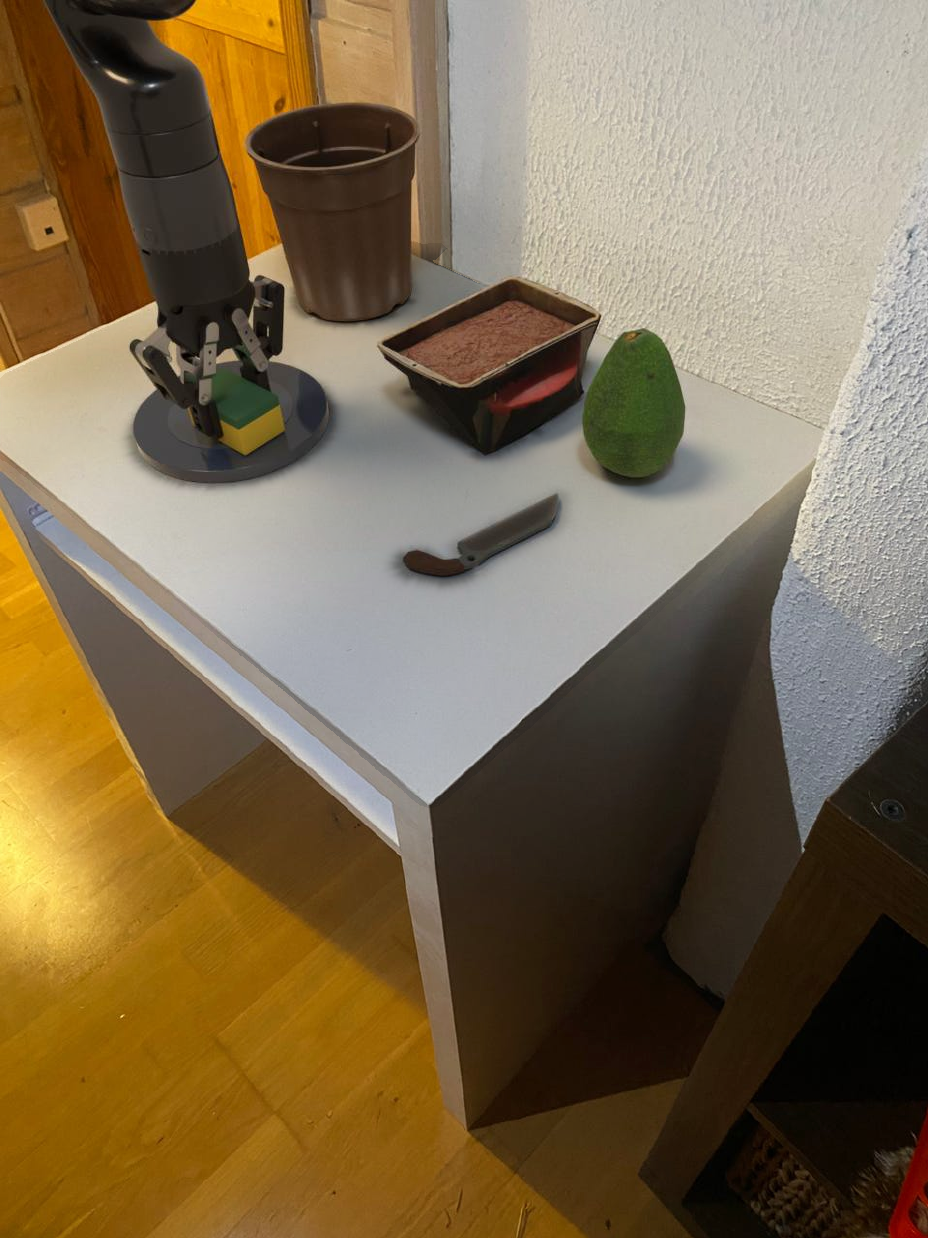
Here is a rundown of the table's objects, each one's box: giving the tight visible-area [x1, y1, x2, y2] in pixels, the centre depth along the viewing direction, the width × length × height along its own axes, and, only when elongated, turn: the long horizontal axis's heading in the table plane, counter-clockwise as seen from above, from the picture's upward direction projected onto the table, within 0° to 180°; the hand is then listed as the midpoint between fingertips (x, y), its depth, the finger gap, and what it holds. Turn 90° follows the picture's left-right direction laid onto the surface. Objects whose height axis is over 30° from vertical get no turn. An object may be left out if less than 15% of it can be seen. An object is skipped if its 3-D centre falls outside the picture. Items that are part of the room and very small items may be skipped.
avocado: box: [581, 327, 686, 478], centre depth 72 cm, size 8×8×12 cm
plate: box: [132, 359, 330, 484], centre depth 82 cm, size 17×17×1 cm
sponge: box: [188, 368, 285, 456], centre depth 78 cm, size 4×7×4 cm, turn 50°
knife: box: [402, 492, 560, 576], centre depth 70 cm, size 14×4×1 cm, turn 125°
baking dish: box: [376, 275, 603, 456], centre depth 81 cm, size 14×18×10 cm
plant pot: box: [244, 101, 421, 322], centre depth 92 cm, size 16×16×16 cm
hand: (236, 420), depth 79 cm, fingers closed on sponge, 4 cm apart
